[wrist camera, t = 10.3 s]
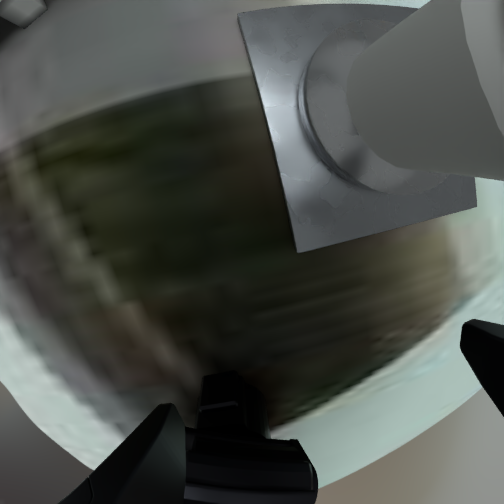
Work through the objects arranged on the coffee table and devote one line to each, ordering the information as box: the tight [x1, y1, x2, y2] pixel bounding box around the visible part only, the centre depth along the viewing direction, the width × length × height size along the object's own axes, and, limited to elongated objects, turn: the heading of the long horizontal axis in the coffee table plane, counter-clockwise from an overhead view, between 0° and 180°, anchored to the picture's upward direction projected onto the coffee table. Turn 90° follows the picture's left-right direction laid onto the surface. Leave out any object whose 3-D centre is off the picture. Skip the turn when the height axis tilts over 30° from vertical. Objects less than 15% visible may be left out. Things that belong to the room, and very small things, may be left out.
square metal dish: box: [237, 4, 477, 253], centre depth 16 cm, size 16×15×4 cm
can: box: [346, 0, 504, 181], centre depth 9 cm, size 8×8×12 cm
